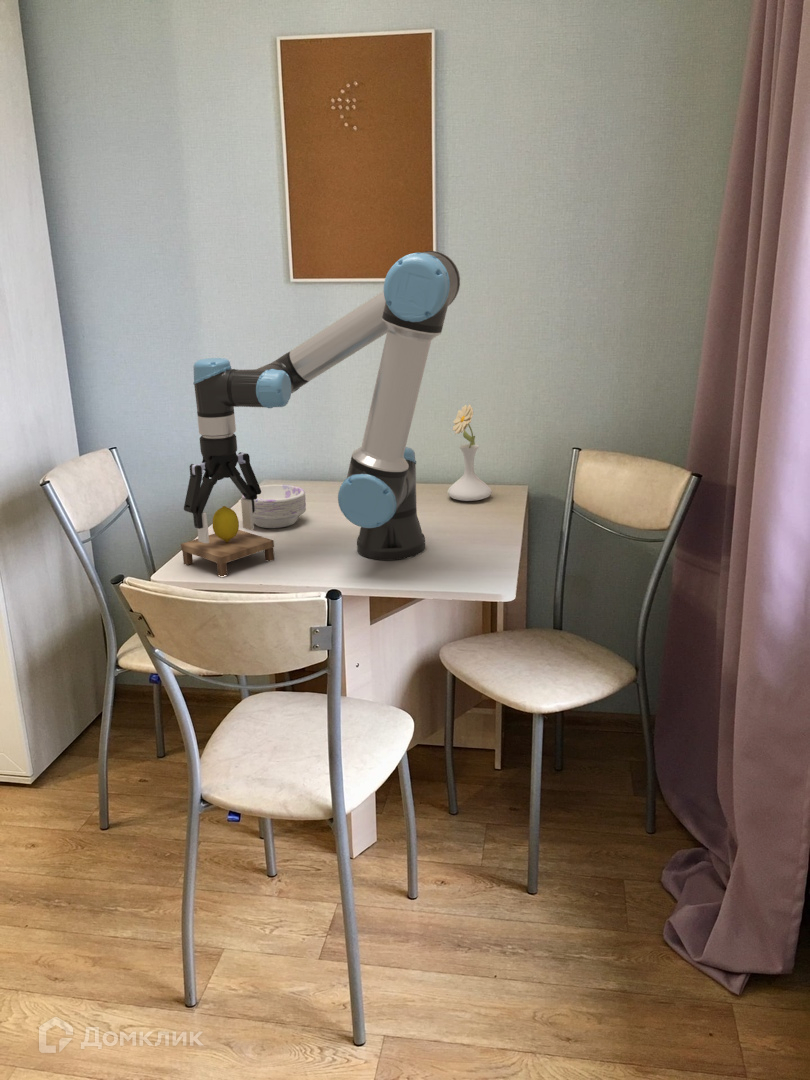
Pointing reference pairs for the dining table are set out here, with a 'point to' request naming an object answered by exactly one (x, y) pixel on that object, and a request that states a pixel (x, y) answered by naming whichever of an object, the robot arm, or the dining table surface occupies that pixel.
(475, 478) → the flower in vase
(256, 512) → the paper bowls
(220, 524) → the lemon
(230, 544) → the footstool
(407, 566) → the dining table surface
